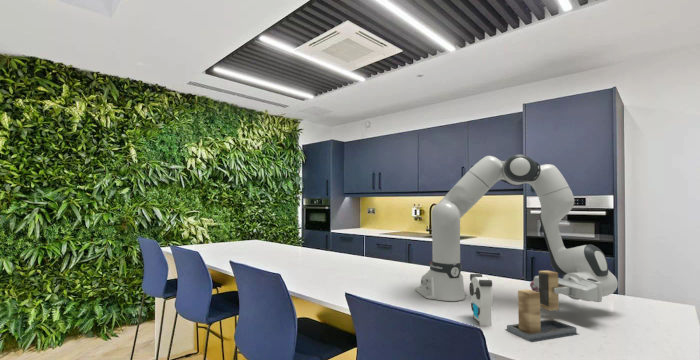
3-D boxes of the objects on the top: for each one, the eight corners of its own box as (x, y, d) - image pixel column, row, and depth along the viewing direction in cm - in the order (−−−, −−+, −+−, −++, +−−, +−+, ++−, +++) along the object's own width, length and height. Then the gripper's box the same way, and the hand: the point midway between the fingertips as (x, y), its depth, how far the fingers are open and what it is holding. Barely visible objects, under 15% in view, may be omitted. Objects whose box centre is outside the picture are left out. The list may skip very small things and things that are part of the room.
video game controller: (530, 295, 153) (528, 281, 151) (533, 288, 156) (530, 275, 154) (556, 299, 147) (553, 285, 145) (558, 292, 150) (556, 279, 148)
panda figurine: (458, 317, 118) (458, 272, 119) (493, 318, 117) (492, 273, 118) (469, 331, 106) (468, 280, 107) (507, 332, 105) (506, 281, 106)
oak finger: (538, 307, 117) (537, 271, 118) (548, 306, 119) (547, 270, 120) (548, 310, 114) (548, 273, 114) (558, 309, 115) (558, 272, 116)
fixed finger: (518, 331, 103) (518, 290, 103) (530, 330, 104) (529, 289, 105) (530, 337, 99) (529, 293, 99) (541, 335, 100) (540, 292, 101)
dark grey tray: (504, 332, 104) (504, 324, 105) (549, 326, 111) (549, 317, 111) (532, 346, 95) (531, 336, 95) (579, 337, 101) (579, 328, 101)
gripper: (550, 270, 131) (521, 272, 126) (606, 283, 112) (574, 286, 107) (550, 287, 131) (521, 290, 126) (606, 303, 111) (575, 307, 107)
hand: (546, 288), depth 116 cm, fingers closed on oak finger, 4 cm apart
